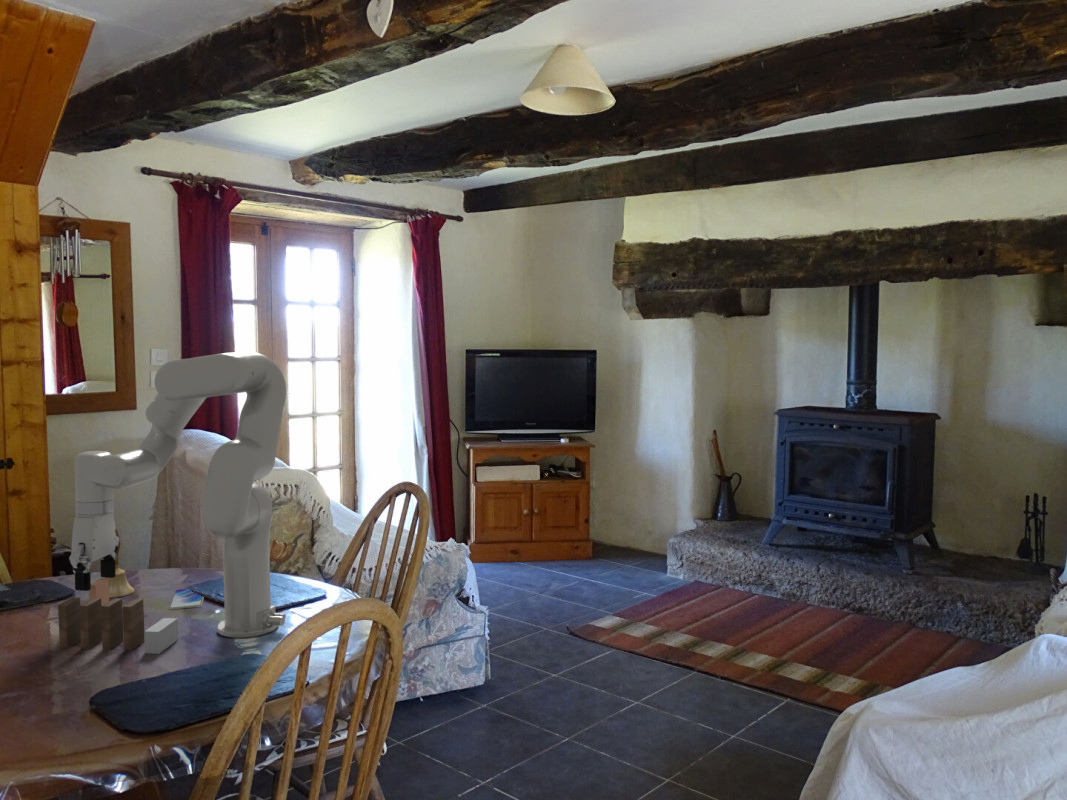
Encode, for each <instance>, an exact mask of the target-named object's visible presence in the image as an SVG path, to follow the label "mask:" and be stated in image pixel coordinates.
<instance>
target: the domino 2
mask: <svg viewBox="0 0 1067 800" xmlns="http://www.w3.org/2000/svg"><path fill="white" fill-rule="evenodd" d="M93 598H101V606H102V605H104V604H106V603H108V602H109V601H110V598H109V583H108V579H105V577H101V578H99V579H98V580H95V581H94V582H91V589H90V590H89V591H88V601H89V600H91V599H93Z"/></svg>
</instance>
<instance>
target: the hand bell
mask: <svg viewBox="0 0 1067 800" xmlns="http://www.w3.org/2000/svg"><path fill="white" fill-rule="evenodd" d="M115 533H116V536H117V537H119V542H118V546H117V547H118V550H117V552H116V555H117V558H116V559H115V574H116V576H115V577H114V578H106V577H104V579H108V583H109V599H115V598H122V597H126V596H128V595H131V594H133V593H134V592H135V588H134V587H132V586H131V585H130V583H129V582H128V580H127V576H126V575H127V574H126V571H125V570H124V569H121V568H120V565H119V552H120V549H121V537H120V535H119V531H118V528H115Z"/></svg>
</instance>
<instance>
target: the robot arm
mask: <svg viewBox="0 0 1067 800" xmlns="http://www.w3.org/2000/svg"><path fill="white" fill-rule="evenodd" d="M286 383H287V382H286V379H285V377H284V374H283V372H282V370H281V368H280V367H279V366H278V365H277V364H276V362H274V360H273V359H271V358H270V357H268V356H267V355H264V354H262V353H259V352H255V351H238V352H224V353H223V352H222V353H216V354H210V355H201V356H196V357H190V358H182V359H172V360H169V361H167V362H165V363H164V364H162V365H161V366H160V367H159V369H158V370H157V371H156V374H155V377H154V387H155V390H156V392H157V394H156V396H155V397H154V398H153V399H152V400H151V402H150V403H149V405H148V406H147V407H146V408H145V409H146V410H145V413H144V414H145V418H146V420H147V421H148V422H149V423H150V424H151V429H150V430H149V432H148V434H147V435H146V437H145V438H144V440H143V441H142V442H141V443H140V445H139V446H138V447H137V448H136V449H134V450H129V451H125V452H122V453H117V454H112V453H111V452H109V451H105V450H90V451H89V450H88V451H83V452H80V453H78V454H77V455H76V456H75V458H74V472H75V473H74V475H75V479H74V480H75V481H74V482H75V483H74V485H75V488H74V490H75V516H74V520H73V525H72V532H71V533H72V535H71V552H70V553H71V554H70V555H69V558H68V559H69V562H70V566H71V569H72V572H73V573H74V589H75V591H80V592H81V591H83V592H84V591H85V592H89V590H90V589H91V584H92V582H91V571H90V568H91V566H92V563H94V562H96V561H99V560H100V577H101V578H105V577H106V578H114V577H115V576H116V574H115V559H116V558H117V555H116V552H117V550H118V547H117V546H118V542H119V537H120V536H119V537H117V536H116V533H115V529H116V522H115V516H114V513H115V496H114V495H115V490H124V489H127V488H131V487H134V486H137V485H139V484H144V483H147V482H149V481H152V480H153V479H155V478H156V477H157V476H158V475H159V474H160V473H161V472H162V471H163V470H164V468H165V467H166V465H167V464H168V463H169V461H171V459H172V458H173V457H174V455H175V454H176V451H177V450H178V447H179V443H180V440H181V436H182V431H184V429H185V427H186V426H187V424H188V423H189V421H190V420H191V419H192V417H193V416H194V415H195V413H196V412H197V411H198V409H199V408H200V407H201V406H202V404H203V403H204V402H205V400H206V399H207V398H212V397H219V396H227V395H228V396H229V395H234V394H240V393H246V399H245V402H244V403H243V407H242V408H241V412H240V413H239V421H238V427H237V432H236V435H235V438H234V439H232V440H229V441H227V442H225V443H222V444H221V445H220V446H219V447H218V448H216V450H215V452H213V455H212V457H211V460H210V462H209V466H208V472H207V477H206V483H205V489H204V495H203V500H202V501H203V502H202V507H201V508H202V510H201V518H202V522H203V525H204V527H205V529H206V530H207V532H208V533H210V535H211V536H214V537H216V538H219V539H223V549H222V555H223V557H222V559H223V560H222V561H223V562H222V563H223V564H222V565H223V567H222V568H223V597H224V598H223V599H224V600H223V602H224V603H223V604H224V620H222V621H220V622H219V623H218V624H217V629H216V630H217V633H218V634H219V635H221V636H224V637H227V638H234V639H235V638H238V639H240V638H241V639H243V638H252V637H258V636H262V635H266V634H268V633H271V632H273V631H275V630H276V629H277V628H278V627H279V626H281V627H283V626H284V625H285V623H286V622H285V621H286V614H285V613H281V612H280V613H277V612H276V606H275V605H272V604H271V564H270V563H271V562H270V560H271V559H270V555H271V554H270V553H271V552H270V551H271V550H270V549H271V548H270V547H271V546H270V541H271V540H270V539H271V536H270V535H271V526H272V518H273V501H272V497H271V496H270V494H269V492H268V491H267V489H265V488H264V487H263V486H262V485H260V484H257V483H254V482H256V481H259V480H260V479H263V478H265V477H266V476H268V475H269V474H270V473H271V472H272V470H273V468H274V467H275V463H276V456H277V450H278V445H279V439H280V434H281V433H280V432H281V427H282V419H283V413H284V409H285V405H286V404H285V403H286V399H287V398H286V397H287V384H286ZM84 563H85V565H84Z"/></svg>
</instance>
